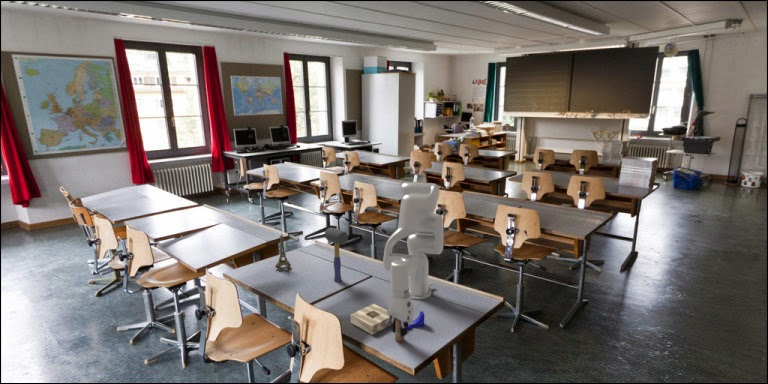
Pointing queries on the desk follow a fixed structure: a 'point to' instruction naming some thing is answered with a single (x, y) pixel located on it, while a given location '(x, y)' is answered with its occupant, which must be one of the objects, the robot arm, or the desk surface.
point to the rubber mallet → (336, 248)
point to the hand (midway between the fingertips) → (399, 333)
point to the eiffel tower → (282, 261)
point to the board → (371, 319)
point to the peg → (398, 331)
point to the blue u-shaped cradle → (417, 321)
